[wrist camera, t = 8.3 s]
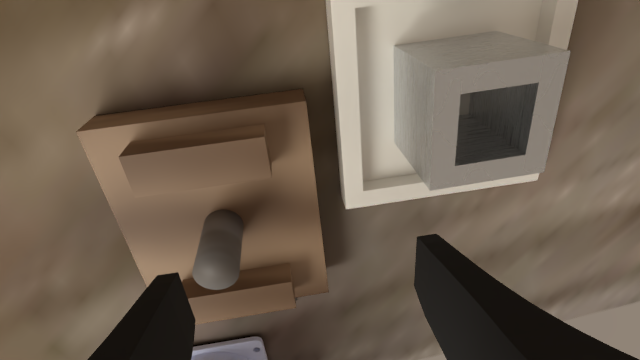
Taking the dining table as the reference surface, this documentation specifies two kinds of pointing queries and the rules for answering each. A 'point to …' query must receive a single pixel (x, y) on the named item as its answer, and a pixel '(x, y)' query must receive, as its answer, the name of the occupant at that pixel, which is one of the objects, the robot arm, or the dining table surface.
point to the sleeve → (476, 106)
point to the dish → (378, 79)
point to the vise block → (217, 199)
